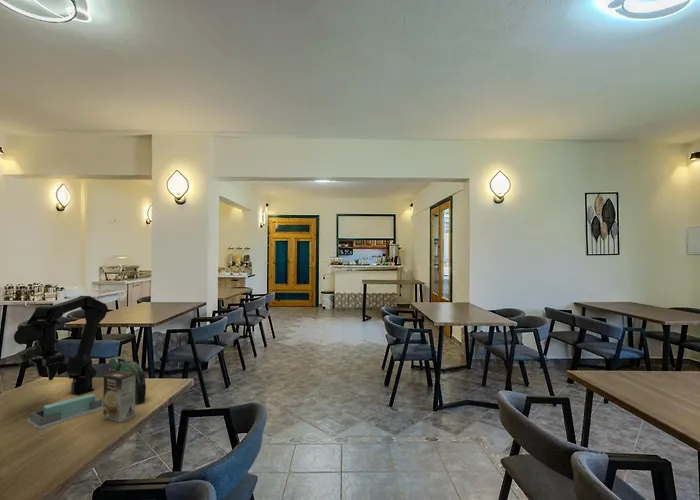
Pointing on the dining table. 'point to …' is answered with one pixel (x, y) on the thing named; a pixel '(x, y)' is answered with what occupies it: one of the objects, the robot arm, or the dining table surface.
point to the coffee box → (119, 396)
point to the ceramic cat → (132, 367)
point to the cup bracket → (43, 422)
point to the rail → (69, 405)
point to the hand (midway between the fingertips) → (45, 378)
